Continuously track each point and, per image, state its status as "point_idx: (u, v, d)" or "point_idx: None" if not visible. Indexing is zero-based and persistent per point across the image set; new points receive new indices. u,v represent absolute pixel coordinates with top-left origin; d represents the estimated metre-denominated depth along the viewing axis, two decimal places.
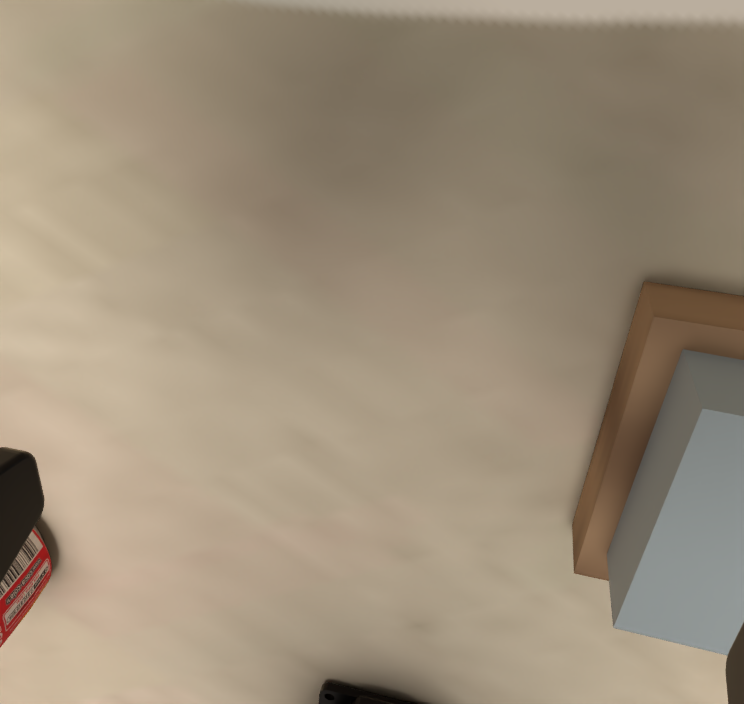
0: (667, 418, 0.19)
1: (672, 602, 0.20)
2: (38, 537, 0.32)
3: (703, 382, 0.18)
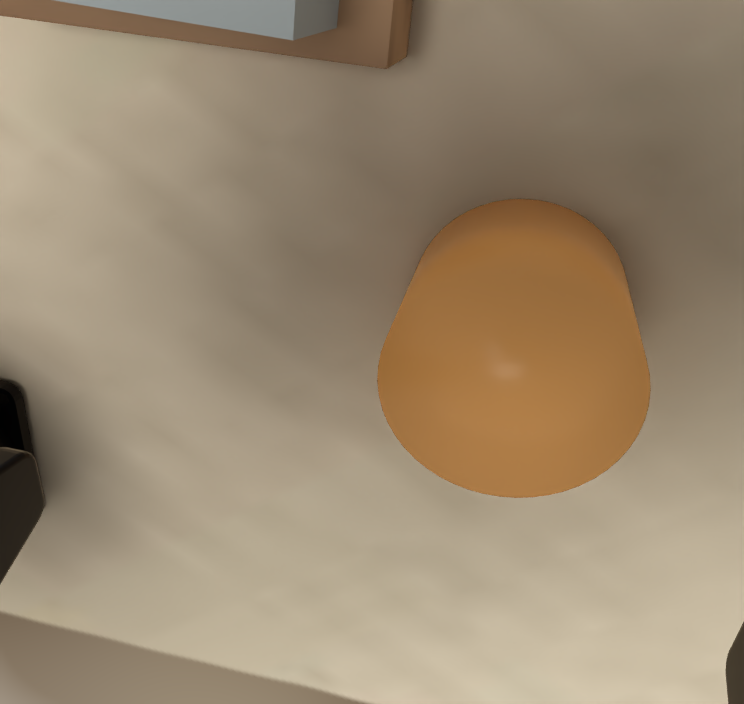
0: None
1: None
2: None
3: None
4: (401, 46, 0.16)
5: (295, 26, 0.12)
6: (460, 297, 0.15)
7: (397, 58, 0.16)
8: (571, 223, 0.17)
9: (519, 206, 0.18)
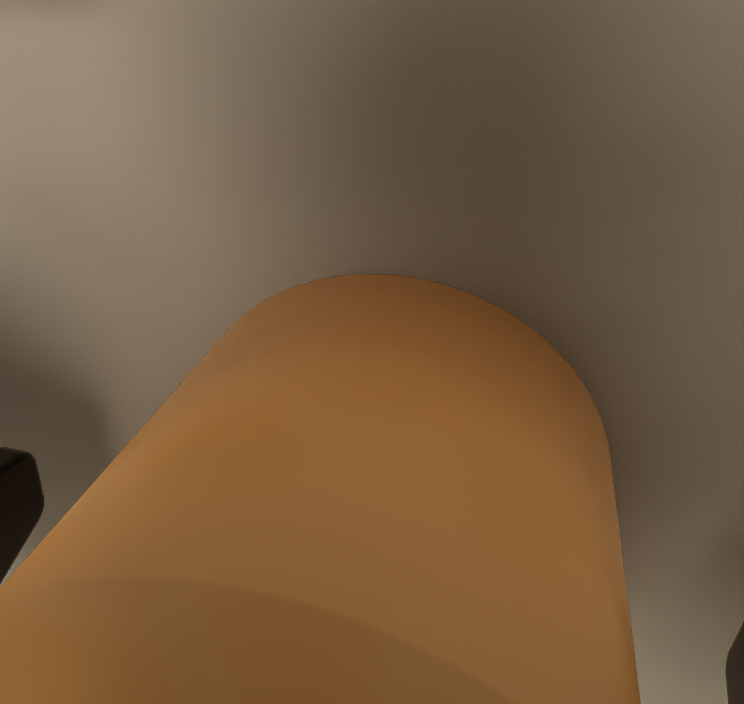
0: None
1: None
2: None
3: None
4: None
5: None
6: (75, 636, 0.05)
7: None
8: (466, 338, 0.07)
9: (354, 296, 0.08)
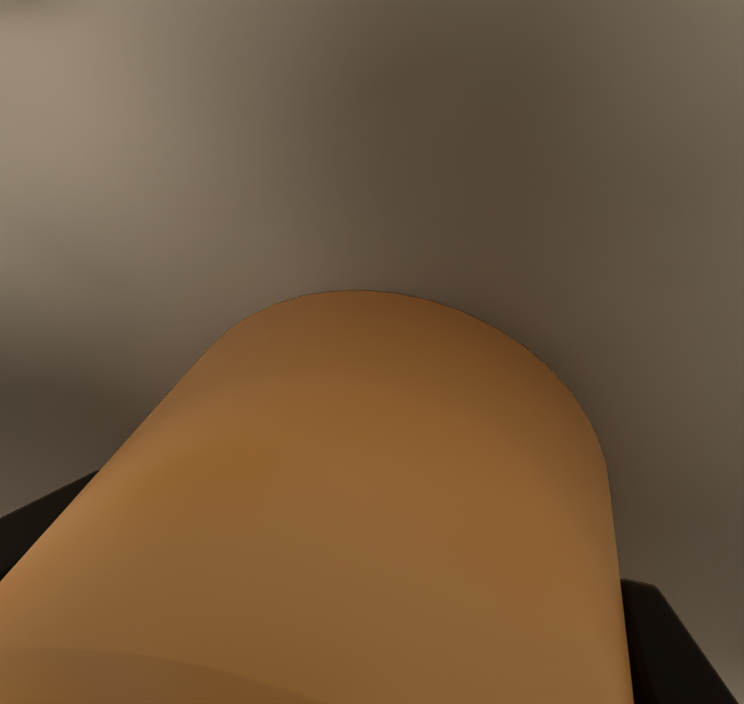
0: None
1: None
2: None
3: None
4: None
5: None
6: None
7: None
8: (455, 364, 0.07)
9: (337, 316, 0.07)
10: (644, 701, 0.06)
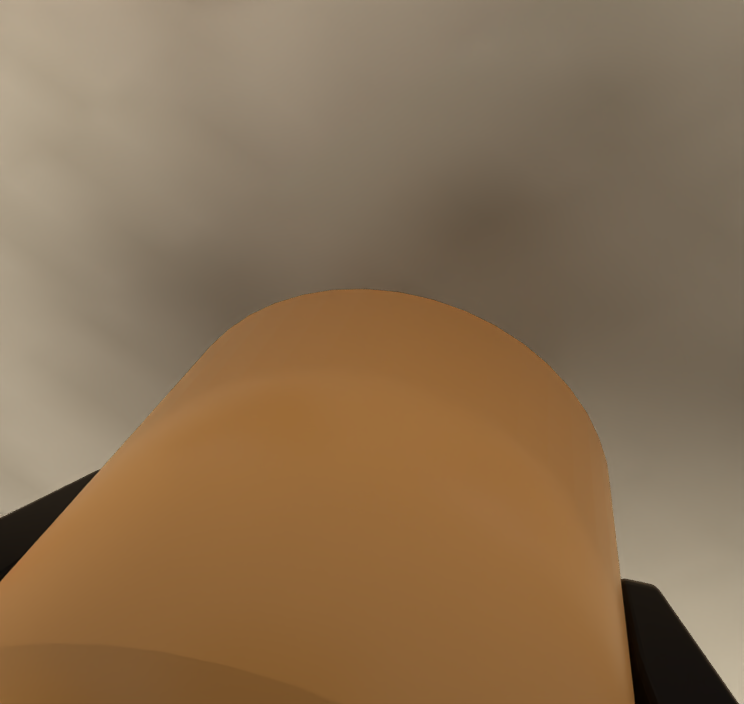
0: None
1: None
2: None
3: None
4: None
5: None
6: (22, 701, 0.04)
7: None
8: (456, 362, 0.07)
9: (338, 315, 0.07)
10: (644, 701, 0.06)
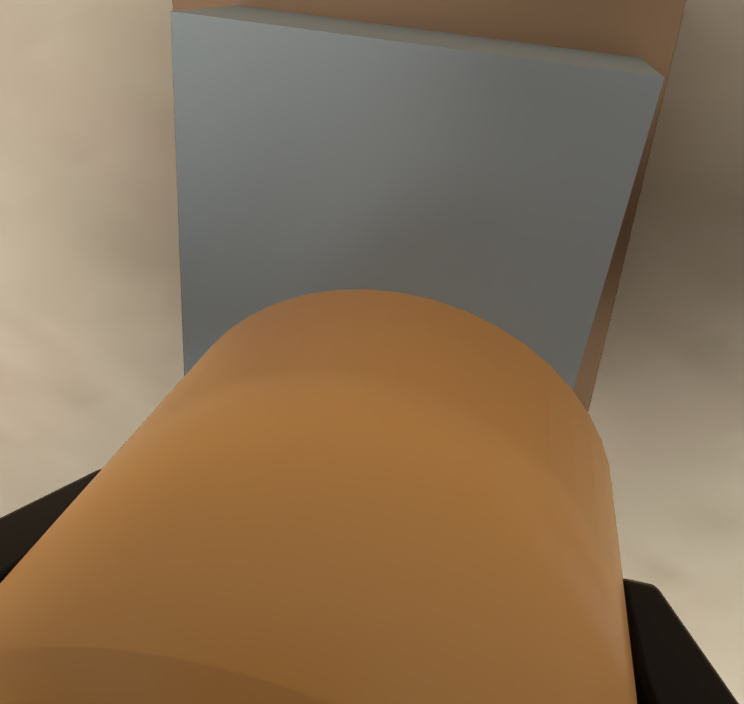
0: None
1: None
2: None
3: (216, 9, 0.13)
4: None
5: None
6: None
7: None
8: (458, 363, 0.07)
9: (339, 315, 0.07)
10: (644, 701, 0.06)
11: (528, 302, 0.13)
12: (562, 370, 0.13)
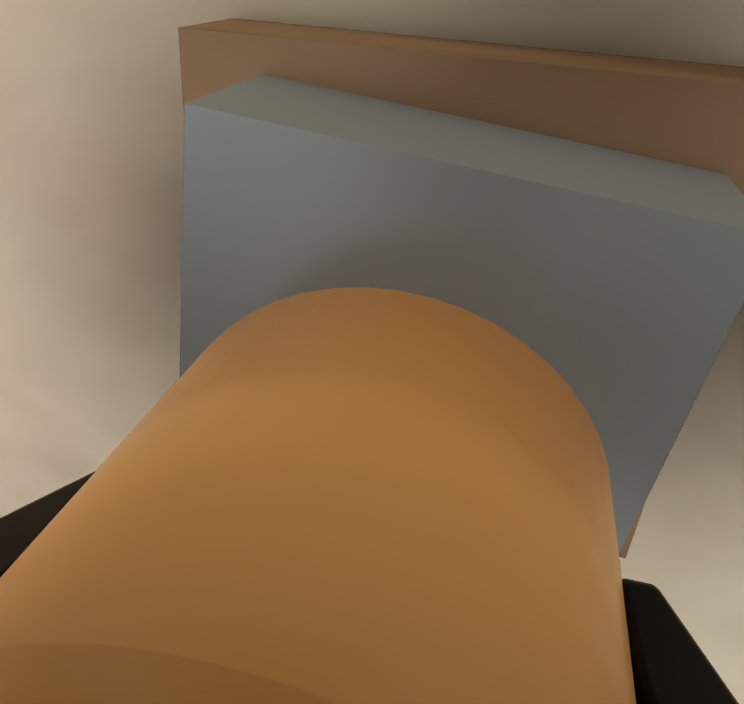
0: None
1: None
2: None
3: (236, 92, 0.11)
4: None
5: None
6: None
7: None
8: (456, 360, 0.07)
9: (338, 313, 0.07)
10: (644, 701, 0.06)
11: None
12: None
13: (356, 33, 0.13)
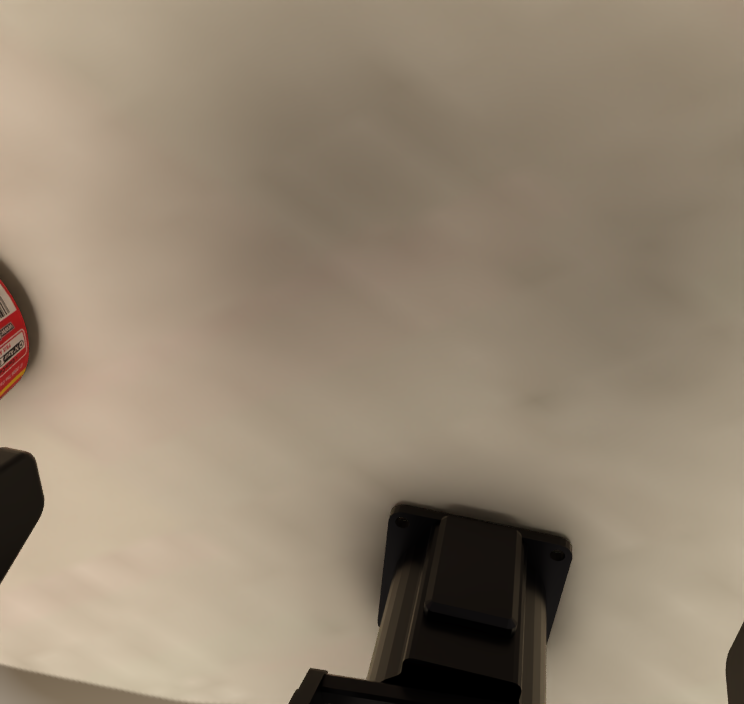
0: None
1: None
2: (10, 295, 0.24)
3: None
4: None
5: None
6: None
7: None
8: None
9: None
10: None
11: None
12: None
13: None
